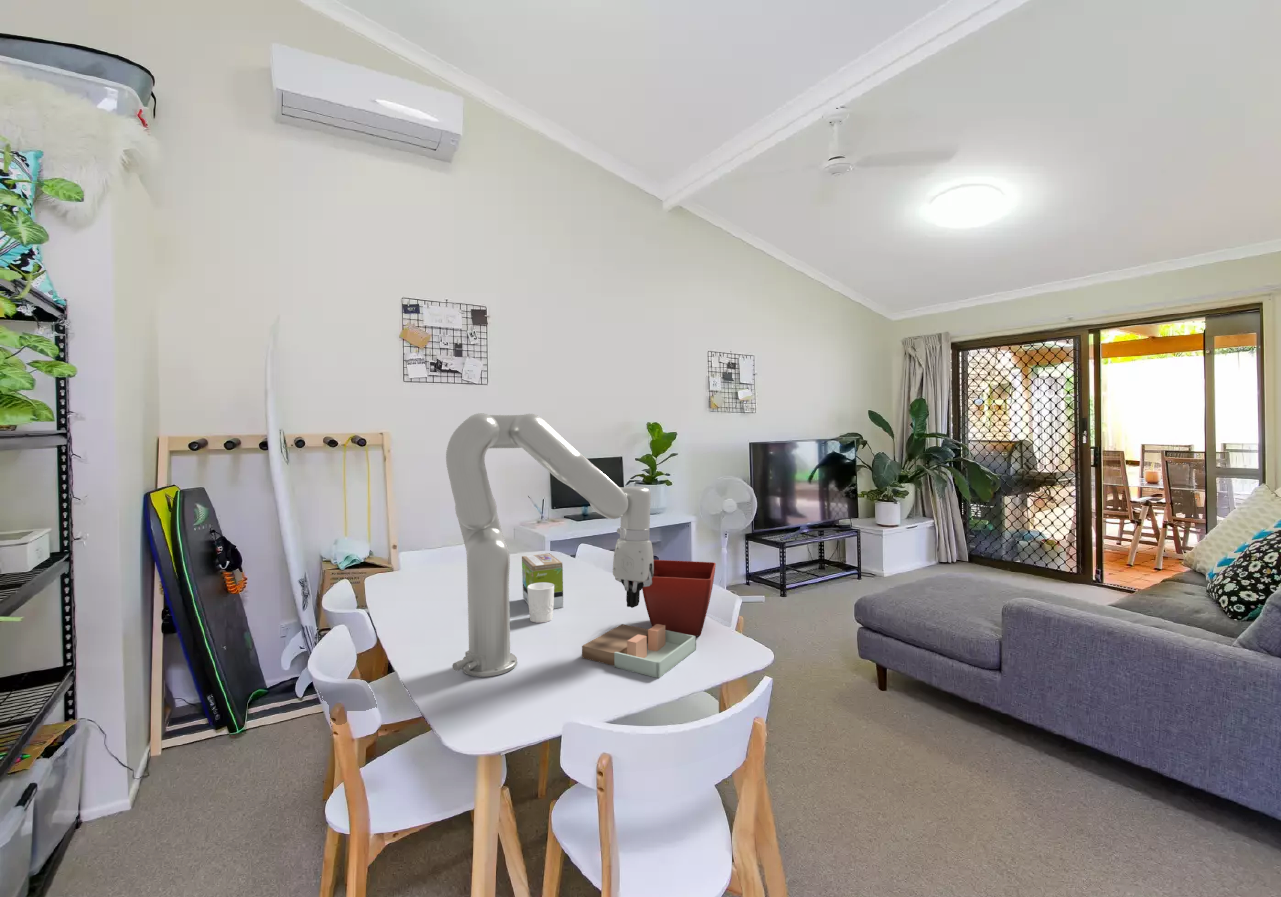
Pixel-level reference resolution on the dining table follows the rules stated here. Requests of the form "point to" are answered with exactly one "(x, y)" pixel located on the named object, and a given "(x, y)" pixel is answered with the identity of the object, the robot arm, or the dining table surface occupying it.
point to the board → (611, 643)
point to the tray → (659, 656)
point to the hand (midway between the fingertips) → (632, 605)
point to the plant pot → (680, 595)
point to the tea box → (543, 575)
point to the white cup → (541, 601)
